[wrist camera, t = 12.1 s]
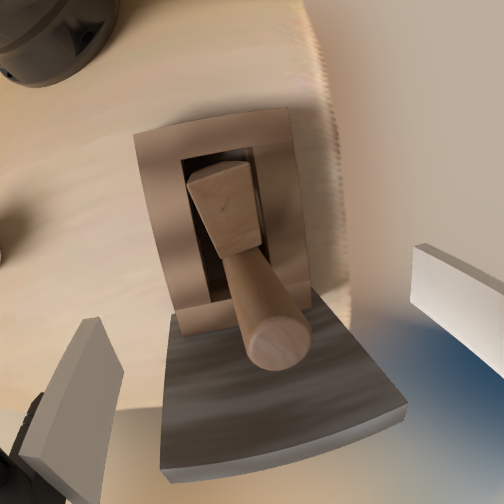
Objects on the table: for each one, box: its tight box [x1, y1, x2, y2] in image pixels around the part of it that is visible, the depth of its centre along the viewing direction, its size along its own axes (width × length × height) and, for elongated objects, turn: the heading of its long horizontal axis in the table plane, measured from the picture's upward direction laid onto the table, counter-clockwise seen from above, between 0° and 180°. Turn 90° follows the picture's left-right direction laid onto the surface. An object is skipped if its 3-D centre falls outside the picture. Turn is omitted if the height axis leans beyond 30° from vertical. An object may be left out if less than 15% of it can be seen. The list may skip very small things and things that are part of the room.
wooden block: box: [187, 161, 313, 371], centre depth 22 cm, size 4×11×18 cm, turn 18°
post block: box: [133, 108, 408, 484], centre depth 21 cm, size 21×16×20 cm
